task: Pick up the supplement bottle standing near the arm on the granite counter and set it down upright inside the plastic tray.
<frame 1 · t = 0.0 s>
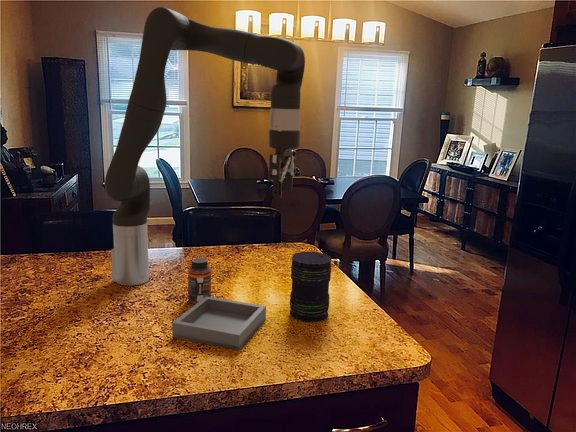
hand: (282, 194, 117), 29 cm above the kitchen island counter, tool pointing down, fingers open, 8 cm apart
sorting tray: (221, 327, 108), on the kitchen island counter
dark cylinder: (308, 314, 118), on the kitchen island counter
supplement bottle: (199, 301, 123), on the kitchen island counter
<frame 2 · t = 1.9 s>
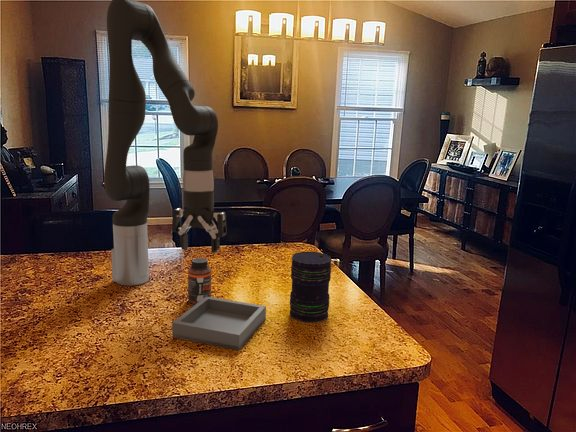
hand: (199, 250, 120), 14 cm above the kitchen island counter, tool pointing down, fingers open, 8 cm apart
nothing on the kitchen island counter moved.
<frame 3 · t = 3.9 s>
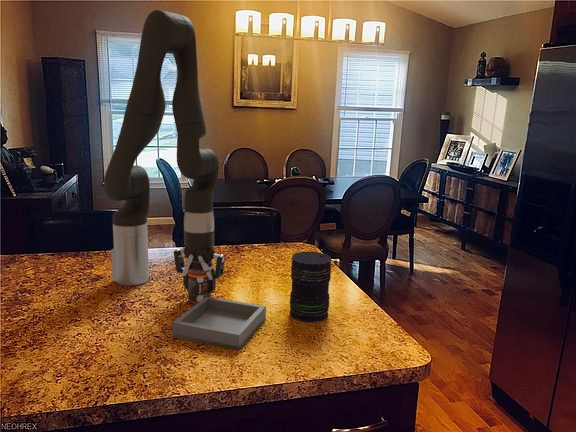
hand: (199, 289, 122), 3 cm above the kitchen island counter, tool pointing down, fingers closed on supplement bottle, 6 cm apart
supplement bottle: (199, 301, 123), on the kitchen island counter, touching gripper
everything else where it was.
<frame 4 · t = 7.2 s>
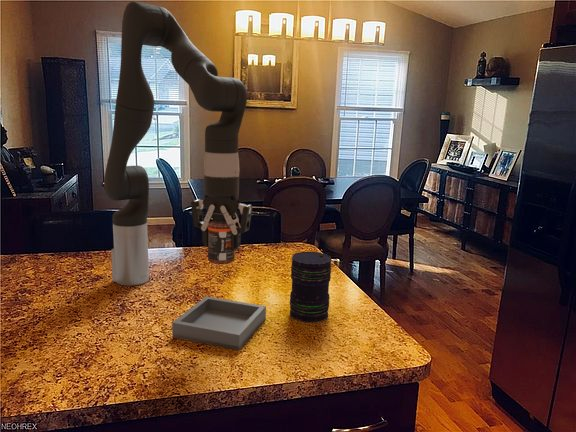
hand: (221, 247, 104), 19 cm above the kitchen island counter, tool pointing down, fingers closed on supplement bottle, 6 cm apart
supplement bottle: (221, 262, 105), point 16 cm above the kitchen island counter, touching gripper
everything else where it was.
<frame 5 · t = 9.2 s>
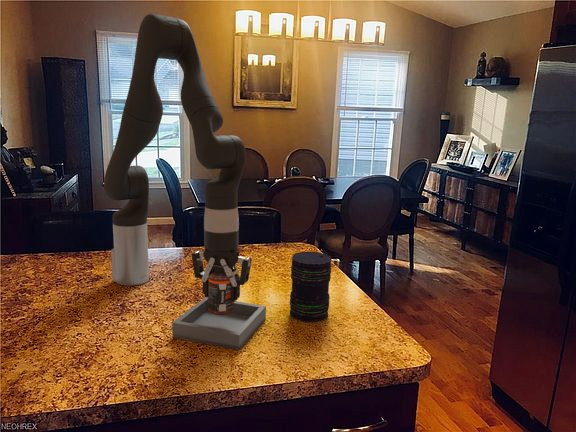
hand: (221, 298, 107), 7 cm above the kitchen island counter, tool pointing down, fingers closed on supplement bottle, 6 cm apart
supplement bottle: (221, 311, 108), point 4 cm above the kitchen island counter, touching gripper
everything else where it was.
when the fingers open (5 cm above the kitchen island counter, at t = 10.7 s): supplement bottle drops 1 cm, resting on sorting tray.
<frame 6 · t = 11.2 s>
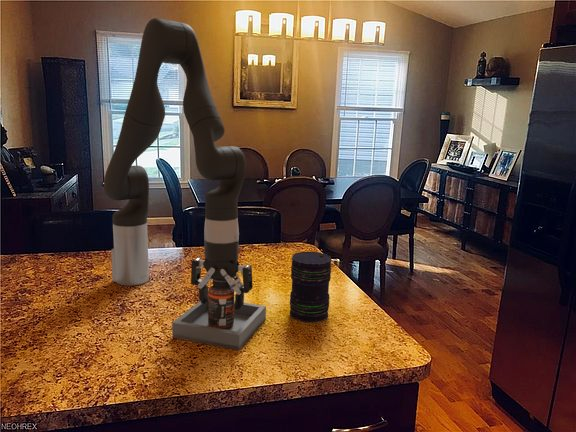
hand: (221, 305, 107), 6 cm above the kitchen island counter, tool pointing down, fingers open, 8 cm apart
supplement bottle: (221, 325, 108), point 1 cm above the kitchen island counter, touching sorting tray
everything else where it was.
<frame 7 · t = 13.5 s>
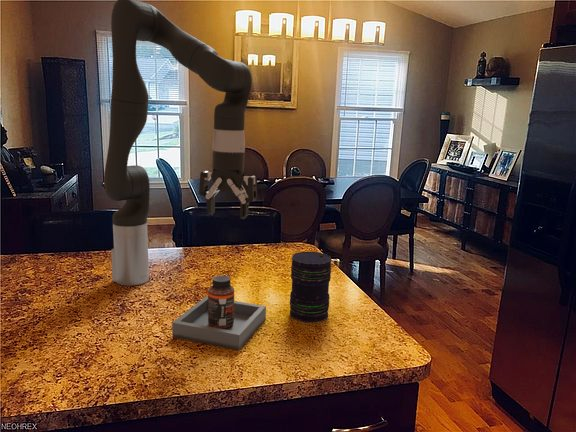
hand: (227, 216, 114), 24 cm above the kitchen island counter, tool pointing down, fingers open, 8 cm apart
nothing on the kitchen island counter moved.
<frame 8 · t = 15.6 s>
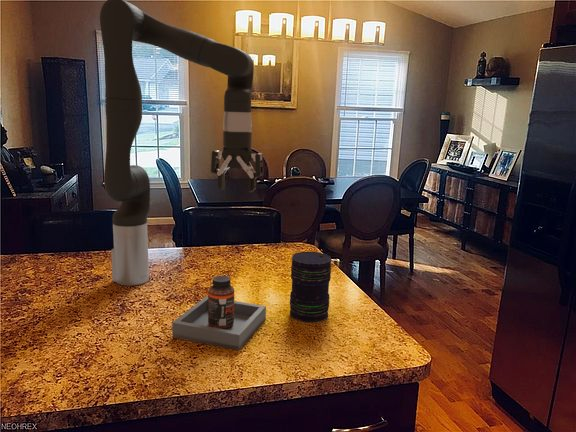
hand: (236, 190, 127), 28 cm above the kitchen island counter, tool pointing down, fingers open, 8 cm apart
nothing on the kitchen island counter moved.
at the end: supplement bottle inside the target area on the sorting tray (0.1 cm from its centre), point 0.6 cm above the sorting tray's base; supplement bottle tilted 0°; the gripper is holding nothing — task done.
